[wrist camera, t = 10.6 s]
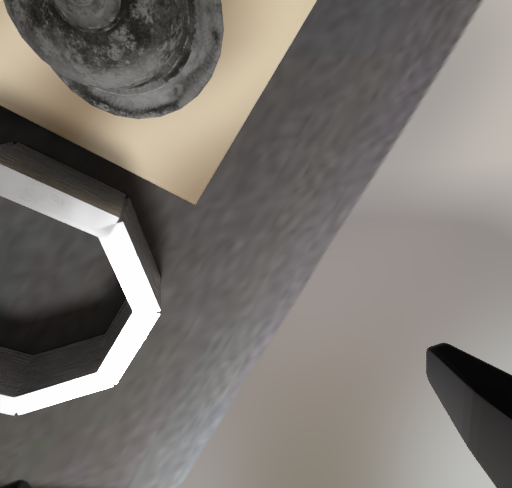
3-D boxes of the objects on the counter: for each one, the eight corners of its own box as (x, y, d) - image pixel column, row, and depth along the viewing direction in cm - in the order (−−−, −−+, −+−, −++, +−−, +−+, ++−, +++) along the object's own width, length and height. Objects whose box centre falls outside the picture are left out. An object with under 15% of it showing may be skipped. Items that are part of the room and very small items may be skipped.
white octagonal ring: (-155, 323, 19) (-207, 368, 16) (-83, 93, 15) (-135, 102, 13) (95, 388, 24) (87, 431, 21) (194, 226, 20) (197, 253, 18)
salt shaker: (170, 132, 17) (174, 262, 7) (33, 51, 15) (-293, 58, 4) (239, 5, 16) (387, -85, 5) (97, -109, 13) (-178, -717, 3)
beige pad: (-52, 73, 15) (-60, 74, 15) (55, -251, 12) (50, -265, 11) (194, 200, 19) (195, 204, 19) (320, -13, 16) (325, -15, 16)
